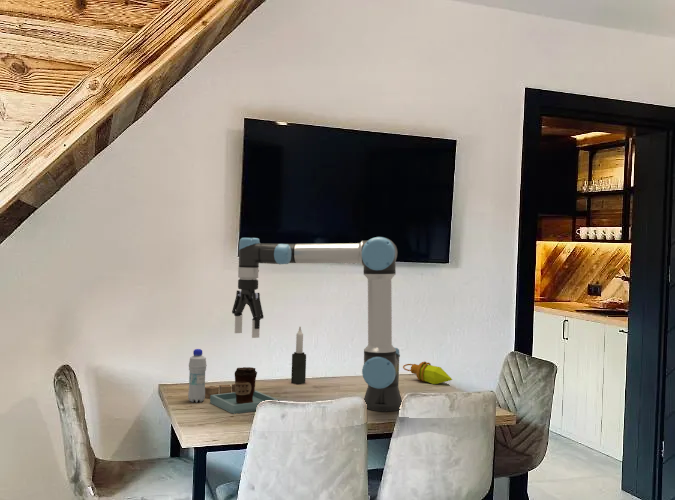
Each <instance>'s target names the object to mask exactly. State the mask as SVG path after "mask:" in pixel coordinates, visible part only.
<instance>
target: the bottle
mask: <svg viewBox="0 0 675 500" xmlns="http://www.w3.org/2000/svg"><path fill="white" fill-rule="evenodd" d="M192 353H193V354H192V356H191V357H190V358H189V361H188V371H189V375H188V377H189V380H188V381H189V382H188V384H189V385H188V393H187V395H188V401H189V402H191V403H194V401H195V403H197V404H198V401H199V403H202V402H204V401H205V399H206V398H205V387H206V371H207V358H206V357H205V355H203V350H202V349H201V348H196V349H193V351H192Z"/></svg>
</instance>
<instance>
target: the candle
mask: <svg viewBox="0 0 675 500" xmlns="http://www.w3.org/2000/svg"><path fill="white" fill-rule="evenodd" d="M295 336H296V338H295V339H296V341H295V342H296V343H295V351H294V352H293V353H292V355H291V374H290V375H291V379H290V381H291V384H294V385H304V384H306V378H307V377H306V375H307V372H306V371H307V366H306V365H307V354H306V353H305V352H304V350H303V349H304V333H303V331H302V326H298V331H297V333H296V335H295Z"/></svg>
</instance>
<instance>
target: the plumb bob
mask: <svg viewBox="0 0 675 500" xmlns="http://www.w3.org/2000/svg"><path fill="white" fill-rule="evenodd" d="M406 366H411V367H410V369H408V368H406ZM402 369H404V370H405V371H407V372H410V373H411V374H413V375H416V379H417V380H418V381H420V382H423V383H430V384H432V385H438V384H441V383H445V382H449V381H453V378H452V377H451V376H450V375H449V374H448V373H447V372H446V371H445V370H444V369H443V368H442V367H440V366H436V365H431V363H430V362H427V361H422V362H420V363H419V364H416V363H405V364H404V365H403V366H402Z"/></svg>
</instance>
